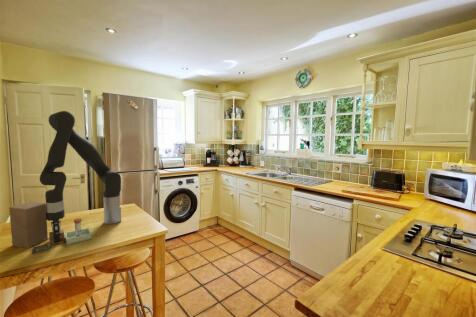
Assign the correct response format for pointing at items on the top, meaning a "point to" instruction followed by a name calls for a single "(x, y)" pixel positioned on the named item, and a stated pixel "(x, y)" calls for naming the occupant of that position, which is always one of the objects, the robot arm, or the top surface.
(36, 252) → the pin socket
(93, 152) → the robot arm
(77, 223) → the pin
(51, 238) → the block
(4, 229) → the top surface
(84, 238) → the tray
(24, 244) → the wooden block
